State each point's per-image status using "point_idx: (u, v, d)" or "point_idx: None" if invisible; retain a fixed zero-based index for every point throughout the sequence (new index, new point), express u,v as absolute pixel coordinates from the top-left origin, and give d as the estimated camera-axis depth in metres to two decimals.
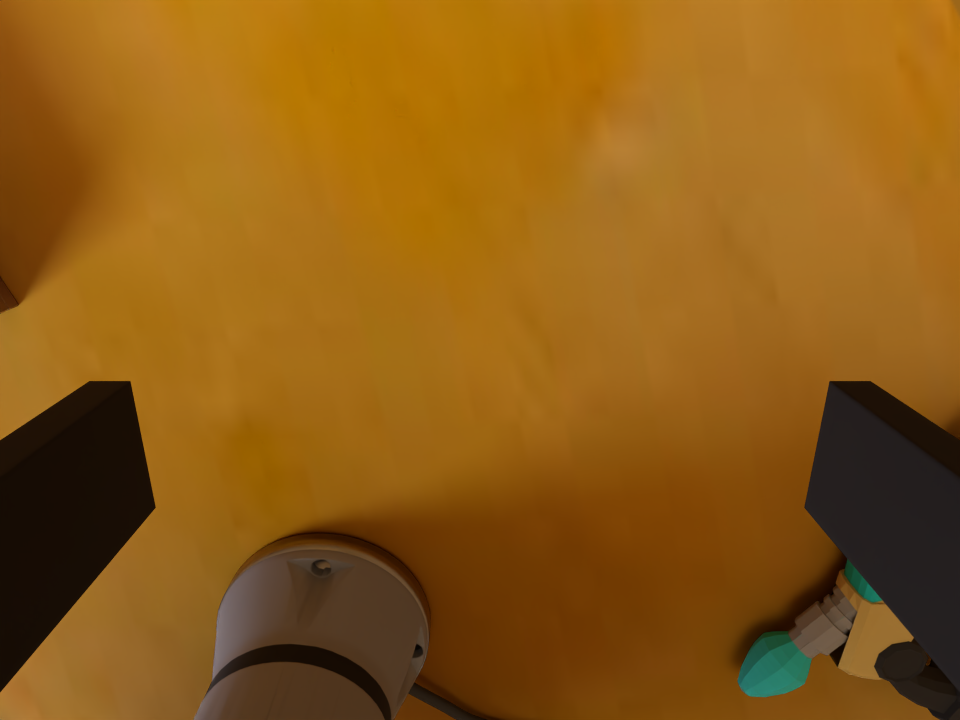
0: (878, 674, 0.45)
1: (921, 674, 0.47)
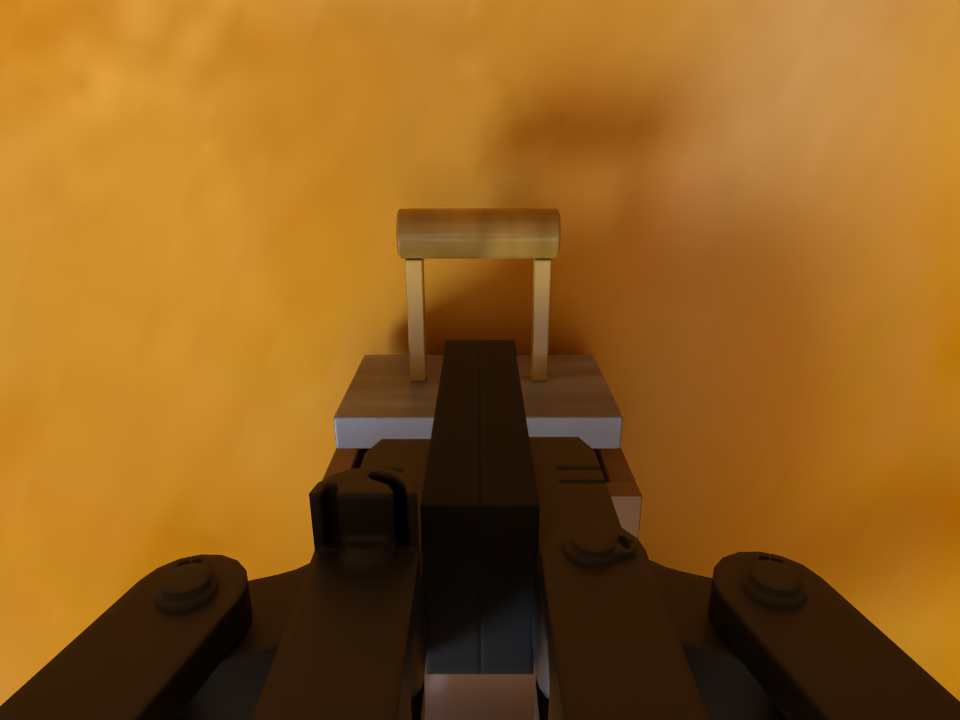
0: None
1: None
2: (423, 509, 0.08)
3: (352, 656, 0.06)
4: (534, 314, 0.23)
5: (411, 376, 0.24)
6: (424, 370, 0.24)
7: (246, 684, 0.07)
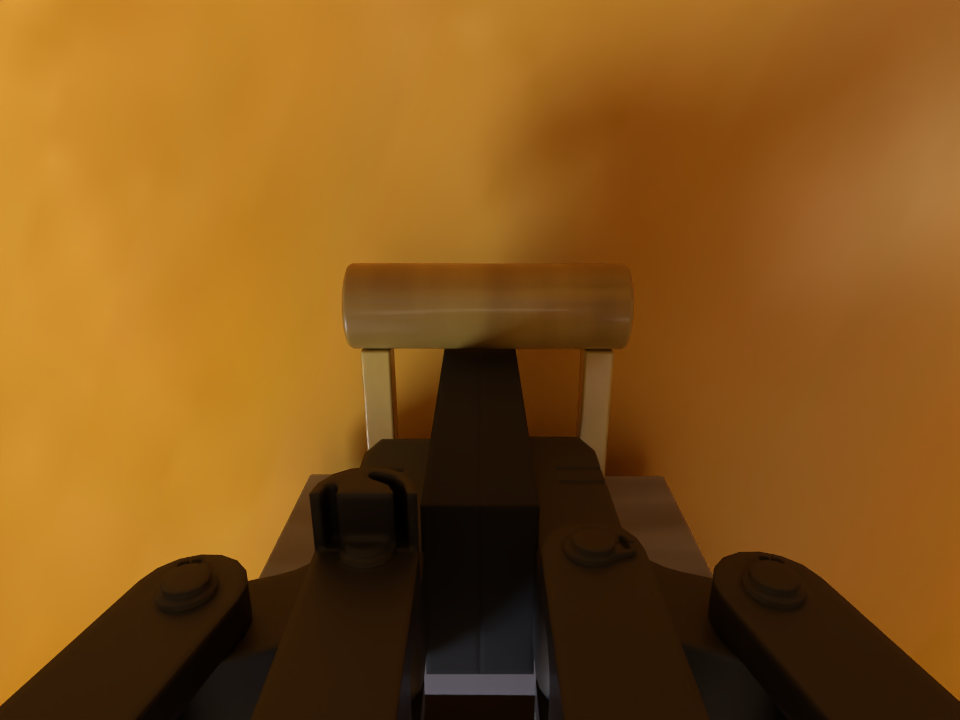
0: None
1: None
2: (423, 509, 0.08)
3: (351, 655, 0.06)
4: None
5: None
6: None
7: (246, 684, 0.07)
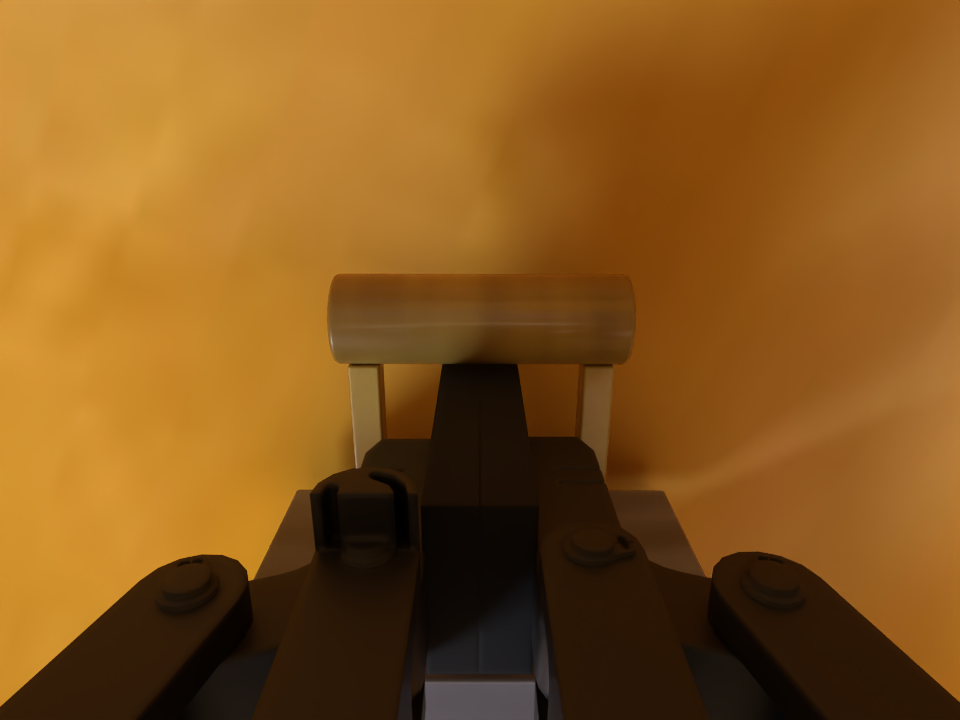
0: None
1: None
2: (423, 509, 0.08)
3: (352, 656, 0.06)
4: None
5: None
6: None
7: (247, 684, 0.07)
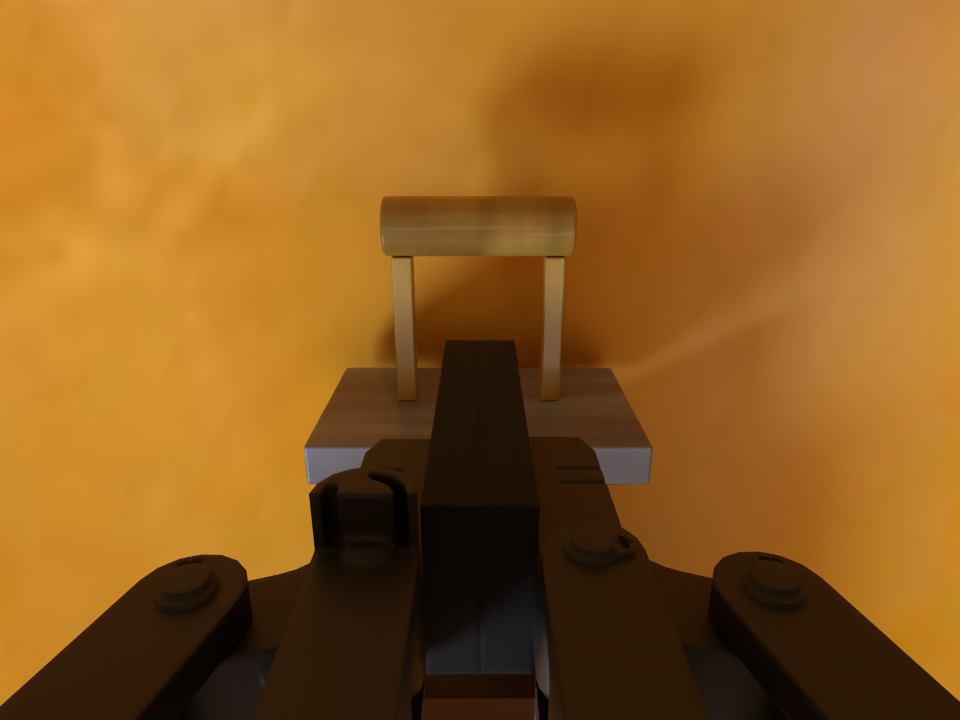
0: None
1: None
2: (423, 509, 0.08)
3: (351, 656, 0.06)
4: (544, 322, 0.20)
5: (399, 395, 0.20)
6: (414, 388, 0.20)
7: (246, 684, 0.07)
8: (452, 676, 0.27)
